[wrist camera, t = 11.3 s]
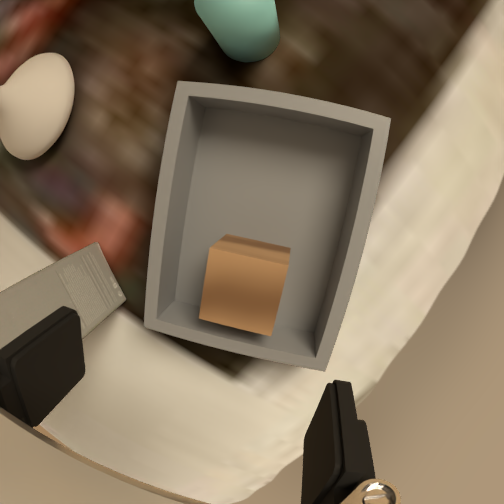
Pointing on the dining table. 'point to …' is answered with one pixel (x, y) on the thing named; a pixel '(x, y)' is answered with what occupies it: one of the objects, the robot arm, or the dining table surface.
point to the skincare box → (62, 294)
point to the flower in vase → (36, 105)
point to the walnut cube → (244, 283)
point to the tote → (263, 211)
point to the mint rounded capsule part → (242, 26)
